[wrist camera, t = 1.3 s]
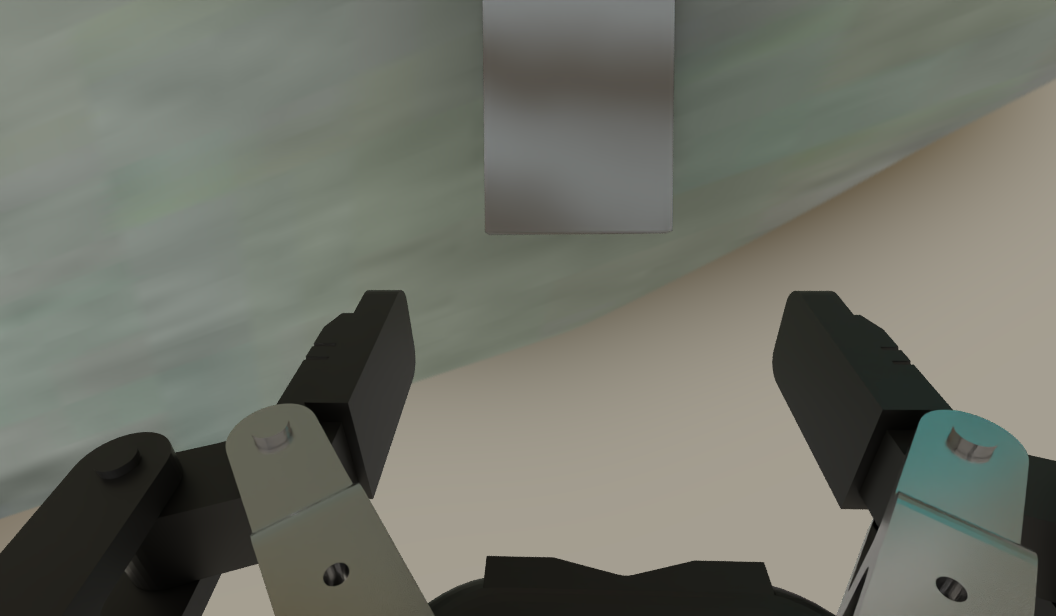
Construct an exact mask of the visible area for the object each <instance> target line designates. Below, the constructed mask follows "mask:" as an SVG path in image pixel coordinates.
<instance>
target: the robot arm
mask: <svg viewBox="0 0 1056 616" xmlns="http://www.w3.org/2000/svg"><path fill="white" fill-rule="evenodd" d="M772 364H773V373H774V377H775V381H776V383H777V385H778V387H779V389H780V391H781V393H782V395H783V397H784V398H785V400H786V402H787V404H788V406H789V408H790V410H791V412H792V414H793V416H794V418H795V420H796V422H797V424H798V426H799V428H800V430H801V432H802V434H803V436H804V438H805V440H806V442H807V443H808V445H809V447H810V449H811V451H812V453H813V455H814V457H815V459H816V461H817V463H818V465H819V467H820V469H821V471H822V473H823V475H824V477H825V479H826V481H827V482H828V485H829V487H830V488H831V490H832V492H833V494H834V496H835V498H836V500H837V502H838V504H839V506H840V508H841V509H868V510H869V511H870V513H871V515H872V517H873V520H872V522H871V524H870V527H869V529H868V531H867V533H866V536H865V539H864V542H863V544H862V547H861V550H860V553H859V556H858V558H857V561H856V564H855V566H854V569H853V572H852V575H851V577H850V580H849V583H848V585H847V588H846V591H845V594H844V596H843V599H842V602H841V605H840V607H839V610H838V612H837V615H836V616H1056V461H1053V460H1049V459H1044V458H1040V457H1035V456H1031V455H1028V454H1027V452H1026V450H1025V448H1024V447H1023V445H1022V444H1021V443H1020V442H1019V441H1018V440H1017V439H1016V438H1015V437H1014V436H1013V435H1011V434H1010V433H1009V432H1007V431H1006V430H1005V429H1003V428H1001V427H1000V426H998V425H996V424H995V423H993V422H990V421H988V420H986V419H984V418H981V417H979V416H976V415H973V414H970V413H965V412H961V411H955V410H953V409H952V408H951V407H950V406H949V405H948V404H947V403H946V401H945V400H944V399H943V398H942V397H941V396H940V394H939V393H938V392H937V391H936V390H935V389H934V387H932V385H931V384H930V383H929V382H928V381H927V380H926V378H925V377H924V376H923V375H922V374H921V372H919V370H918V369H917V368H916V367H915V366H914V365H911V364H910V360H909V359H908V357H907V356H906V355H905V354H904V353H903V352H902V351H901V350H898V346H897V345H896V344H895V343H894V341H893V340H892V339H891V338H890V337H889V336H888V334H887V333H886V332H885V331H884V330H883V329H882V328H880V327H878V326H877V325H875V324H874V323H872V322H870V321H869V320H867V319H866V318H864V317H863V316H861V315H853V314H852V312H851V311H850V310H849V308H848V307H847V306H846V305H845V304H844V302H843V301H842V300H841V299H840V297H839V296H838V295H837V294H836V293H835V292H833V291H793V292H792V293H791V294H790V295H789V297H788V299H787V302H786V306H785V309H784V313H783V317H782V321H781V325H780V328H779V332H778V336H777V340H776V344H775V348H774V352H773V361H772ZM414 371H415V348H414V341H413V335H412V329H411V323H410V317H409V311H408V305H407V299H406V296H405V293H404V292H403V291H402V290H368V291H366V292H365V293H364V295H363V297H362V299H361V301H360V302H359V304H358V306H357V308H356V310H355V311H354V313H342V314H340V315H339V316H338V317H337V318H335V319H334V320H333V321H331V322H330V323H329V324H327V325H326V326H325V327H324V328H323V329H322V331H321V333H320V334H319V336H318V338H317V339H316V341H315V342H314V346H312V347H311V349H310V351H309V352H308V354H307V356H306V360H303V362H302V364H301V365H300V367H299V369H298V370H297V372H296V374H295V375H294V377H293V378H292V380H291V382H290V383H289V385H288V387H287V388H286V390H285V391H284V393H283V395H282V396H281V398H280V400H279V401H278V403H277V405H273V406H269V407H266V408H263V409H261V410H258V411H256V412H254V413H252V414H250V415H249V416H247V417H246V418H244V419H243V420H242V421H240V422H239V423H238V424H237V425H236V426H235V427H234V428H233V430H232V431H231V432H230V434H229V436H228V438H227V441H225V442H221V443H217V444H212V445H208V446H203V447H199V448H194V449H190V450H185V451H181V452H176V453H175V451H174V449H173V447H172V445H171V443H170V442H169V440H168V439H167V438H166V437H165V436H163V435H161V434H158V433H153V432H141V433H134V434H129V435H125V436H122V437H119V438H116V439H114V440H111V441H109V442H107V443H105V444H103V445H101V446H100V447H98V448H96V449H94V450H93V451H92V452H90V453H89V454H87V455H86V456H85V457H84V458H83V459H81V460H80V461H79V462H78V463H77V464H76V465H75V466H74V468H73V469H72V470H71V471H70V472H69V473H68V475H67V476H66V477H65V478H64V479H63V480H62V482H61V483H60V484H59V485H58V486H57V488H56V489H55V490H54V491H53V492H52V493H51V495H50V496H49V497H48V498H47V499H46V500H45V502H44V503H43V504H42V505H41V506H40V507H39V509H38V510H37V511H36V512H35V513H34V514H33V516H32V517H31V518H30V519H29V520H28V522H27V523H26V524H25V525H24V526H23V527H22V529H21V530H20V531H19V532H18V533H17V534H16V536H15V537H14V538H13V539H12V540H11V542H10V543H9V544H8V545H7V546H6V547H5V549H4V550H3V551H2V552H1V553H0V616H202V614H203V612H204V610H205V607H206V605H207V603H208V601H209V599H210V597H211V595H212V593H213V591H214V588H215V586H216V584H217V582H218V580H219V578H220V576H221V574H222V573H226V572H229V571H233V570H237V569H240V568H244V567H247V566H251V565H255V564H259V567H260V570H261V573H262V577H263V580H264V583H265V586H266V589H267V592H268V595H269V598H270V602H271V605H272V608H273V611H274V614H275V616H835V615H834V614H832V613H831V612H829V611H827V610H826V609H824V608H822V607H821V606H819V605H817V604H816V603H814V602H812V601H810V600H807V599H805V598H803V597H801V596H799V595H797V594H794V593H792V592H789V591H786V590H784V589H781V588H778V587H774V586H772V585H771V582H770V579H769V576H768V573H767V570H766V567H765V565H764V562H733V561H691V562H687V563H682V564H678V565H674V566H669V567H666V568H661V569H657V570H653V571H648V572H644V573H639V574H635V575H630V576H622V575H617V574H614V573H610V572H606V571H602V570H598V569H594V568H591V567H587V566H583V565H580V564H576V563H572V562H568V561H565V560H561V559H557V558H552V557H506V556H487V558H486V567H485V575H484V578H482V579H478V580H473V581H470V582H468V583H465V584H462V585H460V586H457V587H455V588H453V589H451V590H449V591H447V592H445V593H443V594H441V595H440V596H438V597H437V598H435V599H434V600H432V601H431V602H429V603H427V601H426V599H425V598H424V596H423V594H422V593H421V591H420V589H419V587H418V585H417V583H416V582H415V580H414V578H413V576H412V574H411V573H410V571H409V569H408V568H407V566H406V564H405V562H404V561H403V558H402V557H401V555H400V553H399V552H398V550H397V548H396V546H395V544H394V542H393V541H392V539H391V537H390V535H389V534H388V532H387V530H386V528H385V526H384V525H383V523H382V521H381V519H380V518H379V516H378V514H377V512H376V510H375V509H374V507H373V505H372V504H371V502H370V500H369V499H373V498H374V495H375V492H376V489H377V485H378V482H379V480H380V477H381V474H382V471H383V467H384V464H385V462H386V458H387V455H388V452H389V449H390V446H391V443H392V440H393V437H394V434H395V431H396V428H397V425H398V422H399V419H400V416H401V413H402V410H403V407H404V404H405V401H406V398H407V395H408V392H409V389H410V386H411V383H412V380H413V377H414Z"/></svg>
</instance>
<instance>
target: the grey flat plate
mask: <svg viewBox="0 0 1056 616" xmlns="http://www.w3.org/2000/svg"><path fill="white" fill-rule="evenodd" d="M674 15H675V0H483V79H484V176H485V233H487V234H489V235H535V234H644V233H667V232H670V231H672V219H673V117H674Z"/></svg>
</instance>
